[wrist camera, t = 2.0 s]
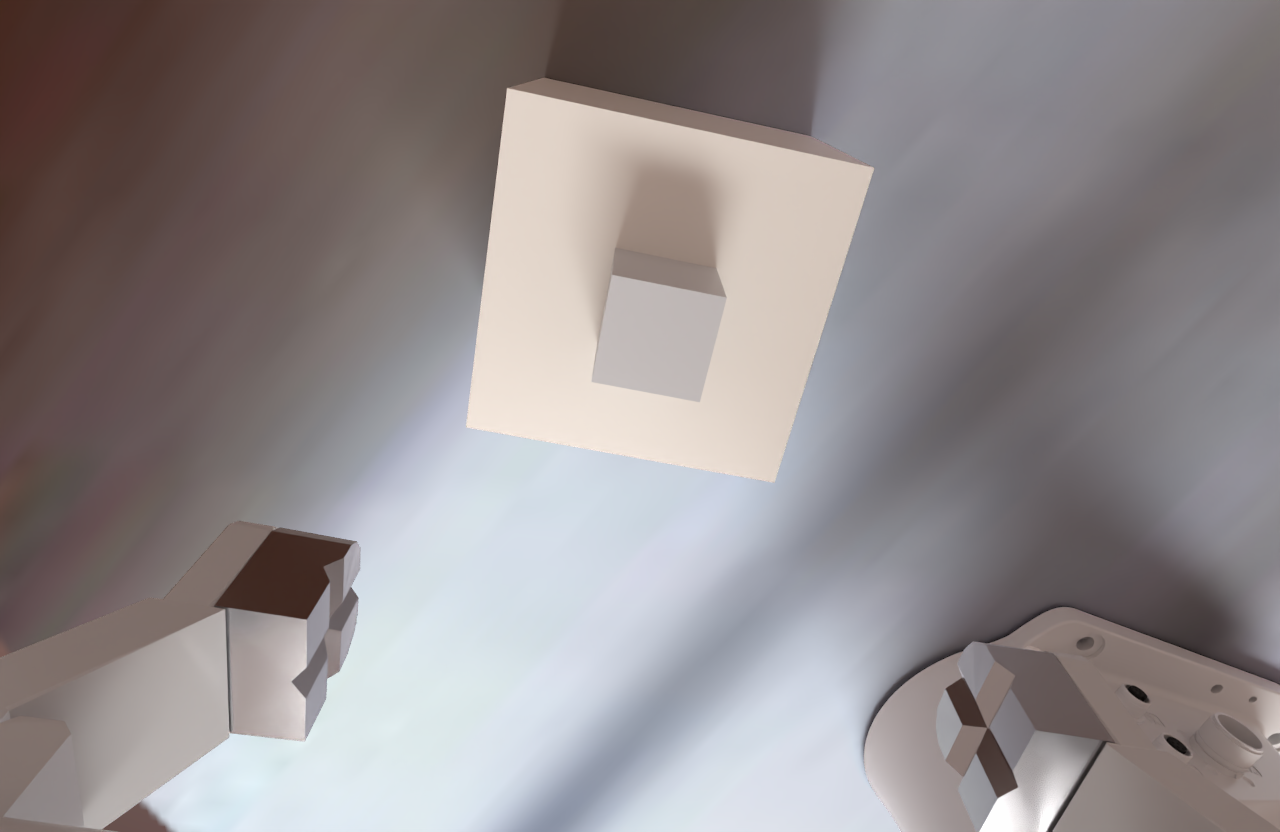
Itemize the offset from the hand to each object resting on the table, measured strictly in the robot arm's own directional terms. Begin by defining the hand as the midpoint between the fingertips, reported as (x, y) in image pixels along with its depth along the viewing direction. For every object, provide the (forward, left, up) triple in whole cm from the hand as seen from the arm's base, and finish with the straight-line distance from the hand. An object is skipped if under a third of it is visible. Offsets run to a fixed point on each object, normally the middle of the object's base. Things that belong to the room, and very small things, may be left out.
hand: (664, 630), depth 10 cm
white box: (0, 0, -23) cm, 23 cm away
